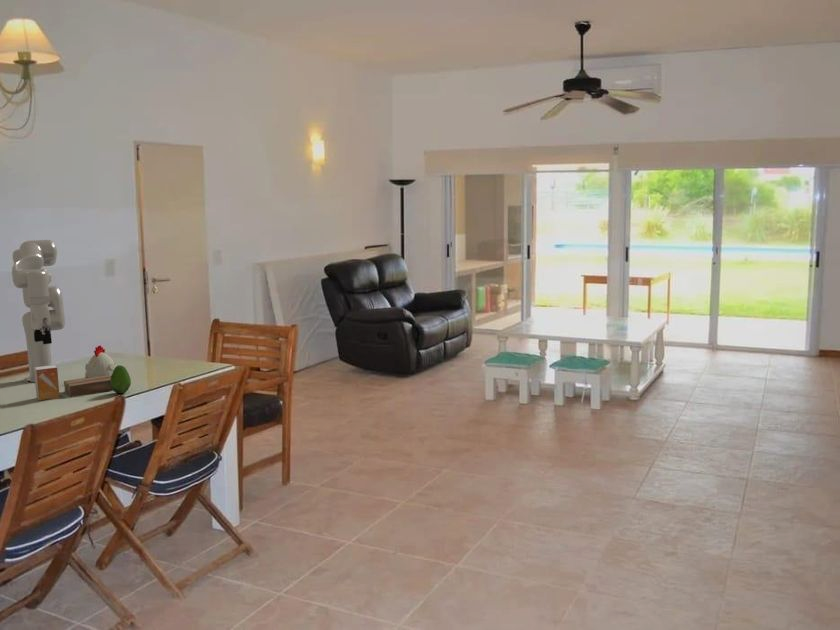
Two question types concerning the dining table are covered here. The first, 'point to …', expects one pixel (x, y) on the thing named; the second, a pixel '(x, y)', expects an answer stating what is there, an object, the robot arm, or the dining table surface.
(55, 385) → the small box
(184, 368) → the dining table surface
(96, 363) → the white chicken figurine
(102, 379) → the walnut riser block
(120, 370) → the fruit
